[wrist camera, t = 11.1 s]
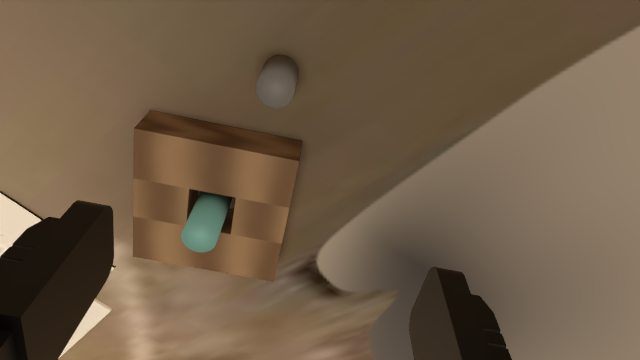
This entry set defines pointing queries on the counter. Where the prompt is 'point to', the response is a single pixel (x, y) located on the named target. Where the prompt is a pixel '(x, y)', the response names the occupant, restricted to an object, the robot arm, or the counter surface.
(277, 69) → the short pin
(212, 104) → the counter surface
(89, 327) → the white flat notched panel
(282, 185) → the walnut block
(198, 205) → the teal pin
